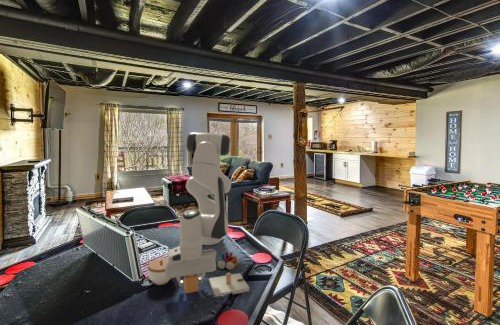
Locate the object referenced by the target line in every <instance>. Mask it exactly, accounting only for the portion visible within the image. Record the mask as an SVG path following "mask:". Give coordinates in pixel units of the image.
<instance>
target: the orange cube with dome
mask: <svg viewBox="0 0 500 325" xmlns="http://www.w3.org/2000/svg"><path fill="white" fill-rule="evenodd" d="M183 288H184V294H189V293H190V294H191V293H194V292H195V293H196V292H199V274H194V275H187V276H183Z"/></svg>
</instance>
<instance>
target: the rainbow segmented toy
mask: <svg viewBox="0 0 500 325" xmlns="http://www.w3.org/2000/svg"><path fill="white" fill-rule="evenodd" d="M233 254H234V253H233V252H230V253H229V252H228V251H225V252H224V253H220V254H219V259H217V267H218V269H219V270H224V269H225V268H226V270H228V271H232V270H233V269H234V268H235V267H237V266H238V257H237V256H233ZM231 269H232V270H231Z"/></svg>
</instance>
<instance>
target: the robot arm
mask: <svg viewBox="0 0 500 325" xmlns="http://www.w3.org/2000/svg"><path fill="white" fill-rule="evenodd" d="M185 147H186V150H187V152H188V153H189V154H192V155H193V158H192V166H191V176H190V177H189V178H188V179H187V181H186V183H185V188H186V190H187V192H188V193H189V194H190V195H191V196H193V198H194V199H195V200H196V202H197V204H198V210H197V209H188V210H185V211H184V212H182V213H181V216H180V222H179V237H180V240H179V245H178V246H177V247H176V246H175V247H174V248H171V249H169V250H168V252H167V257H166V258H167V260H166V264H165V277H166V278H167V279H169V278H171V279H174V278H176V281H177V282H178V286H179V287H184V279H181V277H184V276H187V275H194V274H197V275H199V274H201V276H200V277H199V276H198V284H202V283H203V280H204V278H205V276H206V273H211V272H212V273H213V272H215V271H216V270H217V263H216V258H217V250H215V249H214V248H206V249H205V248H204V249H203V245H204V246H211V245H216V244H219V243H221V241H222V240H225V236H227V234H228V231H229V221H228V216H227V205H226V194H228V193H229V192H230V191H231V188H232V181H231V180H230V178H229V177H228V176H227V175H225V174H224V173H223V172H222V168H221V157H223V156H224V157H225V156H227V155H229V154H230V152H231V149H232V141H231V137H229V135H226V134H221V133H214V132H197V131H196V132H190V133H189V134H188V135H187V138H186V139H185ZM208 195H214V199H211V198H209V197H208Z"/></svg>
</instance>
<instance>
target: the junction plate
mask: <svg viewBox="0 0 500 325" xmlns="http://www.w3.org/2000/svg"><path fill="white" fill-rule="evenodd" d="M208 283H209V285H211V286H210V287H211V290H213V291H212V293H213V292H214V293H213V296H214V295H215V296H214V298H215V297H216V296H220V295H223V294H227V293H230V292H232V293H233V294H232V295H237V294H242V293H247V292H250V286H249V285H248V284H247V282H246V281H245V278H243V276H242V274H241V273H240V272H239V273H231V272H226V273H225V275H221V276H214V277H210V278H208Z"/></svg>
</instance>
